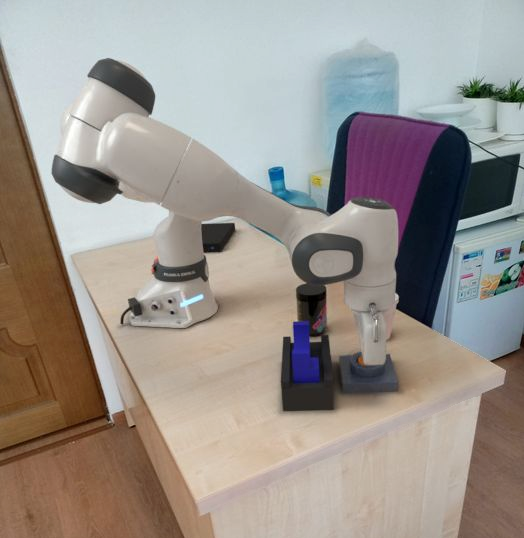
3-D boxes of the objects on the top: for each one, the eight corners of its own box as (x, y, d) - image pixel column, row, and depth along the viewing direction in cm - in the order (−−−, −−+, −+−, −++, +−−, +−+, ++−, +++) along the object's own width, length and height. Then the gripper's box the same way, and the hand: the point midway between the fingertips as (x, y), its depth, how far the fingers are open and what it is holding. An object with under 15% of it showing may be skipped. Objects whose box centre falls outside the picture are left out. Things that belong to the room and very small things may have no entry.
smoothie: (379, 346, 106) (381, 285, 99) (360, 334, 111) (361, 276, 104) (402, 338, 108) (406, 278, 101) (383, 326, 113) (386, 268, 106)
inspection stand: (283, 411, 89) (280, 381, 86) (285, 364, 103) (283, 336, 100) (333, 410, 89) (333, 379, 85) (328, 362, 102) (328, 334, 99)
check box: (342, 393, 93) (342, 375, 91) (339, 364, 101) (339, 347, 99) (397, 391, 92) (399, 373, 90) (389, 363, 100) (390, 345, 98)
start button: (358, 372, 94) (358, 364, 93) (356, 362, 97) (356, 354, 96) (378, 372, 94) (378, 364, 93) (375, 361, 97) (375, 354, 96)
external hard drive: (235, 230, 186) (234, 222, 185) (220, 252, 167) (219, 243, 165) (198, 231, 189) (197, 223, 188) (180, 252, 170) (178, 244, 168)
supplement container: (309, 340, 111) (307, 297, 105) (292, 329, 116) (289, 288, 111) (333, 331, 113) (332, 289, 108) (315, 321, 119) (314, 280, 113)
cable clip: (319, 382, 88) (318, 353, 85) (293, 383, 88) (292, 354, 85) (317, 347, 98) (316, 320, 95) (294, 348, 98) (293, 321, 95)
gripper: (397, 318, 78) (393, 391, 85) (379, 270, 96) (376, 333, 103) (357, 320, 79) (355, 392, 86) (346, 271, 96) (345, 334, 103)
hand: (367, 359), depth 94 cm, fingers closed, pressing on start button
